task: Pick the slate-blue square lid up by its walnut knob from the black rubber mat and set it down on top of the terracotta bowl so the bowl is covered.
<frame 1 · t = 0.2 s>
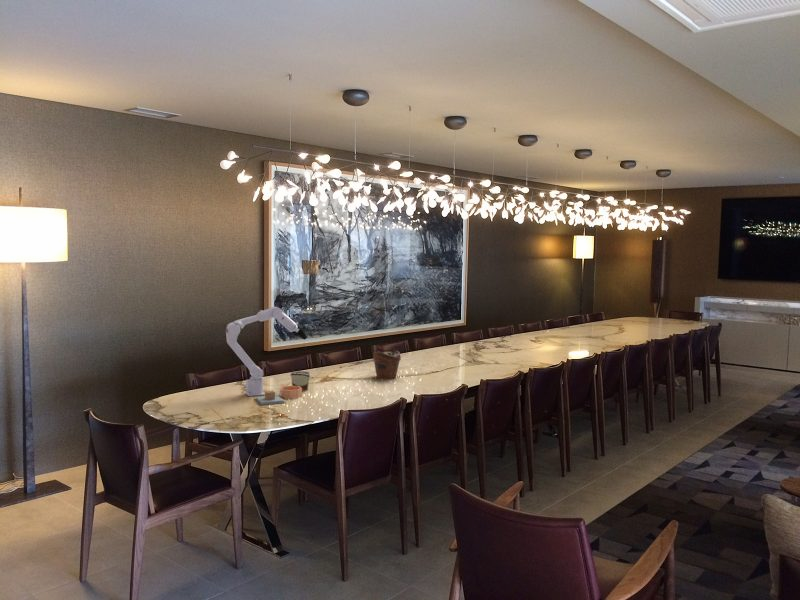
hand: (304, 337, 376), 32 cm above the table, tool tilted 50°, fingers open, 7 cm apart
mat: (269, 401, 352), on the table
brown pot: (386, 377, 421), on the table
bowl: (290, 395, 365), on the table
food container: (301, 389, 383), on the table
lid: (269, 396, 352), on the mat
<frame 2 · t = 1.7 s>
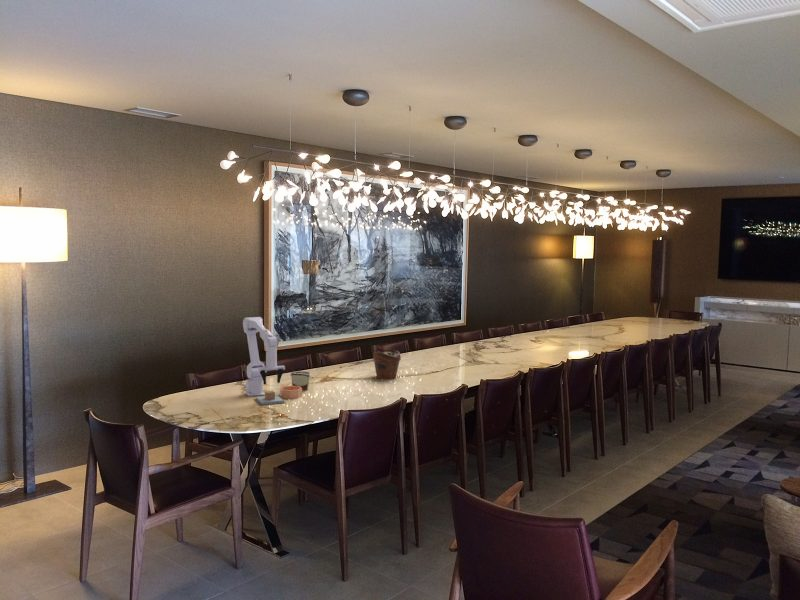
hand: (271, 383, 351), 10 cm above the table, tool pointing down, fingers open, 7 cm apart
nothing on the table moved.
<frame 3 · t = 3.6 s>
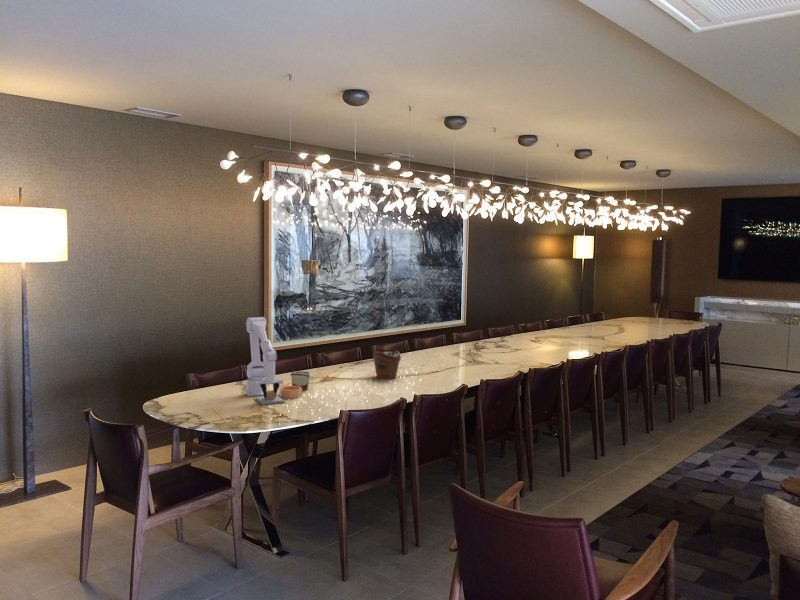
hand: (269, 397, 352), 2 cm above the table, tool pointing down, fingers closed on lid, 4 cm apart
lid: (269, 396, 352), on the mat, touching gripper
everything else where it was.
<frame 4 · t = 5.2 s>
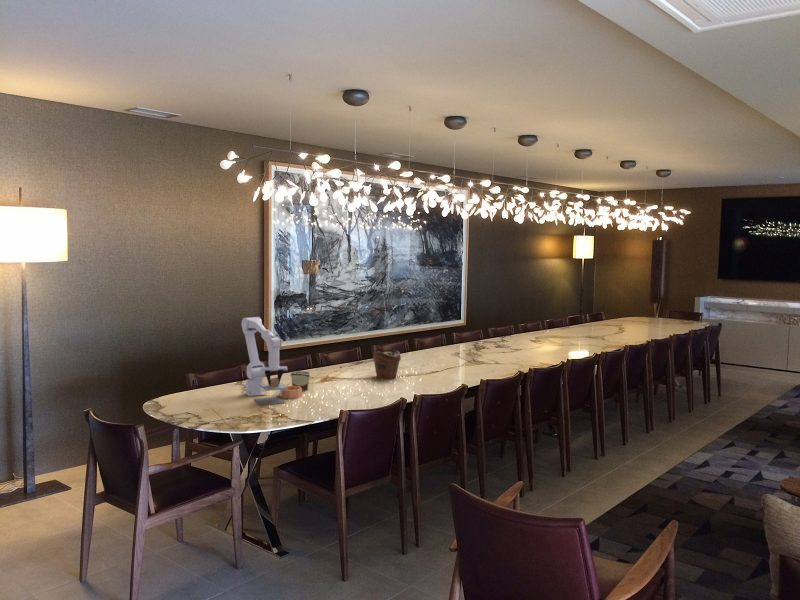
hand: (273, 383, 354), 9 cm above the table, tool pointing down, fingers closed on lid, 4 cm apart
lid: (273, 383, 354), point 10 cm above the table, touching gripper
everything else where it was.
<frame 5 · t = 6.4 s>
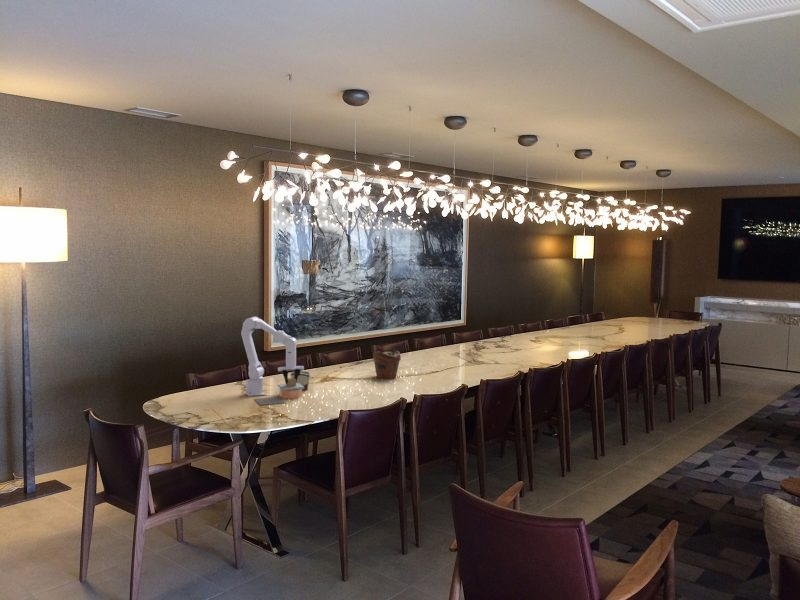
hand: (290, 382, 365), 7 cm above the table, tool pointing down, fingers closed on lid, 4 cm apart
lid: (291, 383, 364), point 7 cm above the table, touching gripper
everything else where it was.
when the fingers open (7 cm above the table, at t = 7.2 s): lid stays where it is, resting on bowl.
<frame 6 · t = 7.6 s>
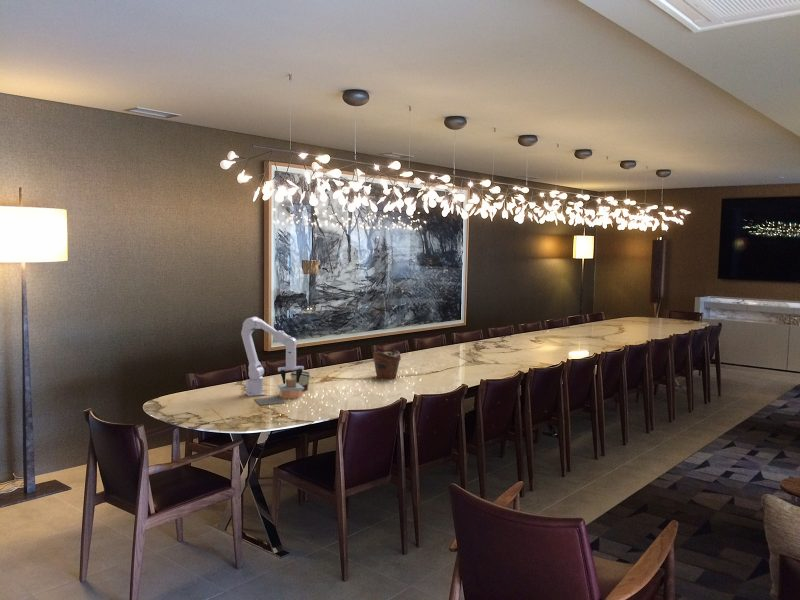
hand: (290, 383, 365), 7 cm above the table, tool pointing down, fingers open, 7 cm apart
lid: (290, 383, 364), on the bowl, point 7 cm above the table
everything else where it was.
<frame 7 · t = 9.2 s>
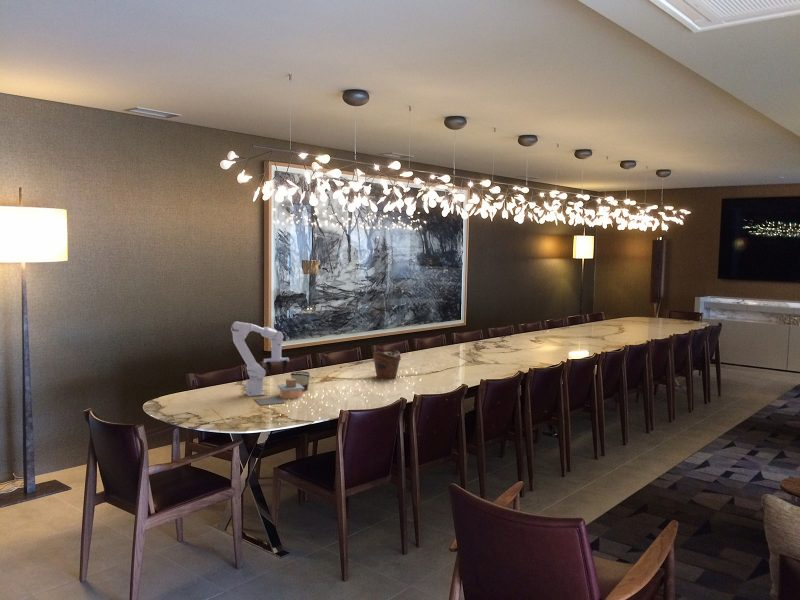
hand: (276, 374, 377), 10 cm above the table, tool pointing down, fingers open, 7 cm apart
nothing on the table moved.
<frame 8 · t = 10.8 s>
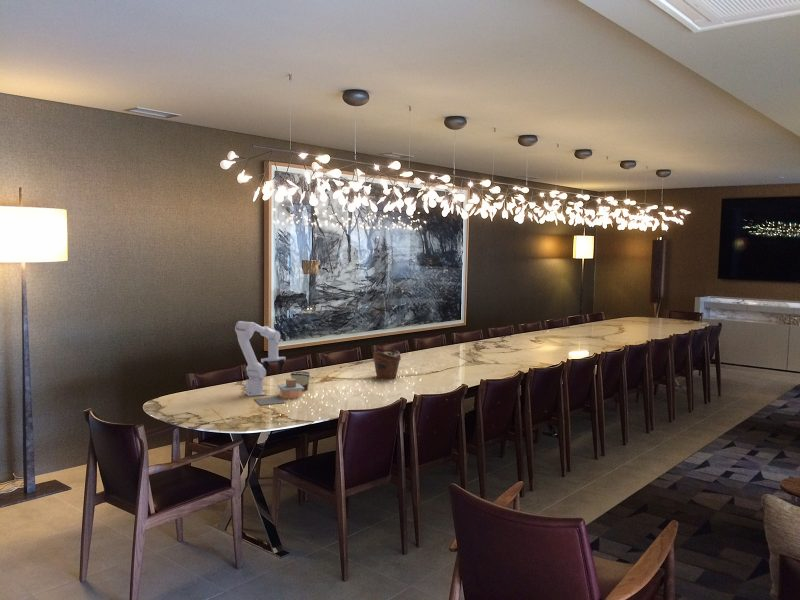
hand: (273, 373, 380), 9 cm above the table, tool pointing down, fingers open, 7 cm apart
nothing on the table moved.
at the end: lid 0.2 cm off-centre on the bowl, point 7.0 cm above the bowl's base; lid tilted 0°; the gripper is holding nothing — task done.
